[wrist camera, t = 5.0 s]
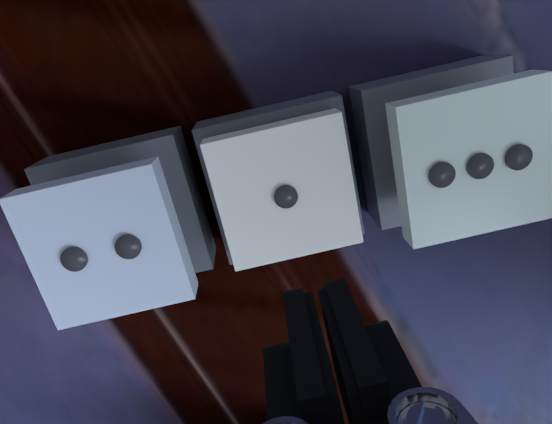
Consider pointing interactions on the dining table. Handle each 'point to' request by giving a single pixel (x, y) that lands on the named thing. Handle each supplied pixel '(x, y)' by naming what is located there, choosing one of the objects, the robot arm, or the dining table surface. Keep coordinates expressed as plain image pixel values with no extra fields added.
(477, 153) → the tile three
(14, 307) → the dining table surface
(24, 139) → the dining table surface
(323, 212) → the tile one
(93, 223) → the tile two
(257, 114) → the housing middle
